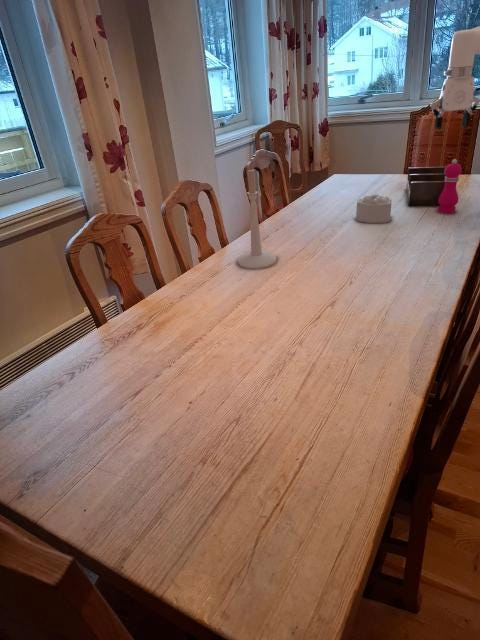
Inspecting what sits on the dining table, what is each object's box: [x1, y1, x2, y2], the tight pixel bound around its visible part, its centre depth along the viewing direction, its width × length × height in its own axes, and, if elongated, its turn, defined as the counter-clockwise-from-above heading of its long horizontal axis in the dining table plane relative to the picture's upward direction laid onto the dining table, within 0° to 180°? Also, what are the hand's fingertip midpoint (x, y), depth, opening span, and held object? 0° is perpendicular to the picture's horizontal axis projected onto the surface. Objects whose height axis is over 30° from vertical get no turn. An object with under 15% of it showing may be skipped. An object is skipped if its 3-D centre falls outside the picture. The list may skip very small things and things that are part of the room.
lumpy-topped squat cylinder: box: [355, 193, 392, 224], centre depth 169 cm, size 10×13×9 cm
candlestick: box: [237, 169, 277, 270], centre depth 137 cm, size 13×13×30 cm
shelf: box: [405, 166, 446, 207], centre depth 188 cm, size 16×28×10 cm, turn 163°
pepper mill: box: [437, 158, 463, 215], centre depth 167 cm, size 7×7×20 cm
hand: (451, 127), depth 155 cm, fingers open, 9 cm apart
